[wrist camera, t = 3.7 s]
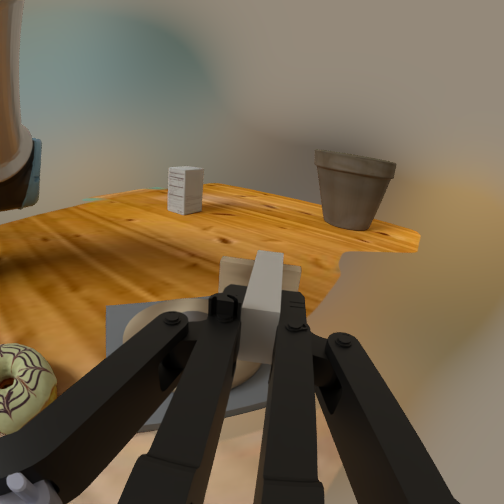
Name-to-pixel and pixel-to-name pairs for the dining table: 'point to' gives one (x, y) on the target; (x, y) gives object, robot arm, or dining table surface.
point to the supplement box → (185, 189)
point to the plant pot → (351, 187)
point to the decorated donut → (23, 386)
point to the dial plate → (240, 398)
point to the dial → (197, 308)
